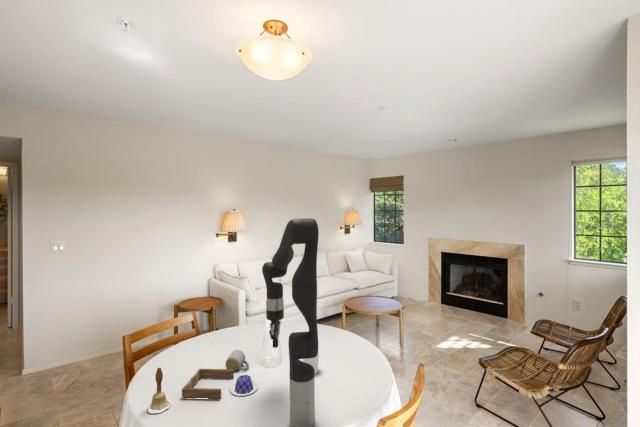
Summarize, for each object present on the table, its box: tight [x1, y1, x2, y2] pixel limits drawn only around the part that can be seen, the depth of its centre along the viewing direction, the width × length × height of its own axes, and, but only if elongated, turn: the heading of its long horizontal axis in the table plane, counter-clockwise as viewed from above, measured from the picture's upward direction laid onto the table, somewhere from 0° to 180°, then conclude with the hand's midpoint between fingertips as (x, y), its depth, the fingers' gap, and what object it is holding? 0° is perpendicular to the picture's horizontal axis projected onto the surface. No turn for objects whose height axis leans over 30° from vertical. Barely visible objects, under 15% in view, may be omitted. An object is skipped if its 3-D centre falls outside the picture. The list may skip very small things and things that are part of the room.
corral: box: [181, 368, 235, 400], centre depth 144 cm, size 17×16×4 cm
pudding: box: [229, 374, 259, 397], centre depth 143 cm, size 12×12×5 cm
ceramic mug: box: [225, 349, 250, 372], centre depth 162 cm, size 11×8×8 cm
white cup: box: [302, 349, 320, 375], centre depth 158 cm, size 8×8×10 cm
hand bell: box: [149, 367, 170, 410], centre depth 130 cm, size 8×8×16 cm
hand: (275, 346), depth 142 cm, fingers closed
